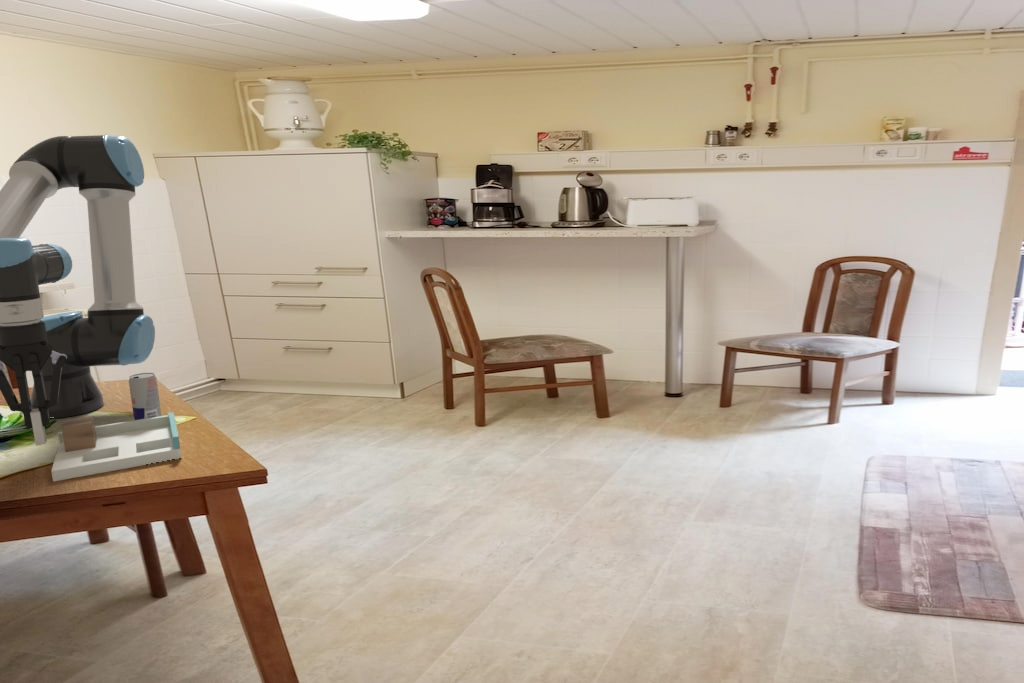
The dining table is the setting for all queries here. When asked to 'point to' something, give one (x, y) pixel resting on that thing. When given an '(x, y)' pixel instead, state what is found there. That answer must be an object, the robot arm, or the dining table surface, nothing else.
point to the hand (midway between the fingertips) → (41, 442)
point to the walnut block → (79, 434)
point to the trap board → (120, 448)
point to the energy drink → (144, 396)
